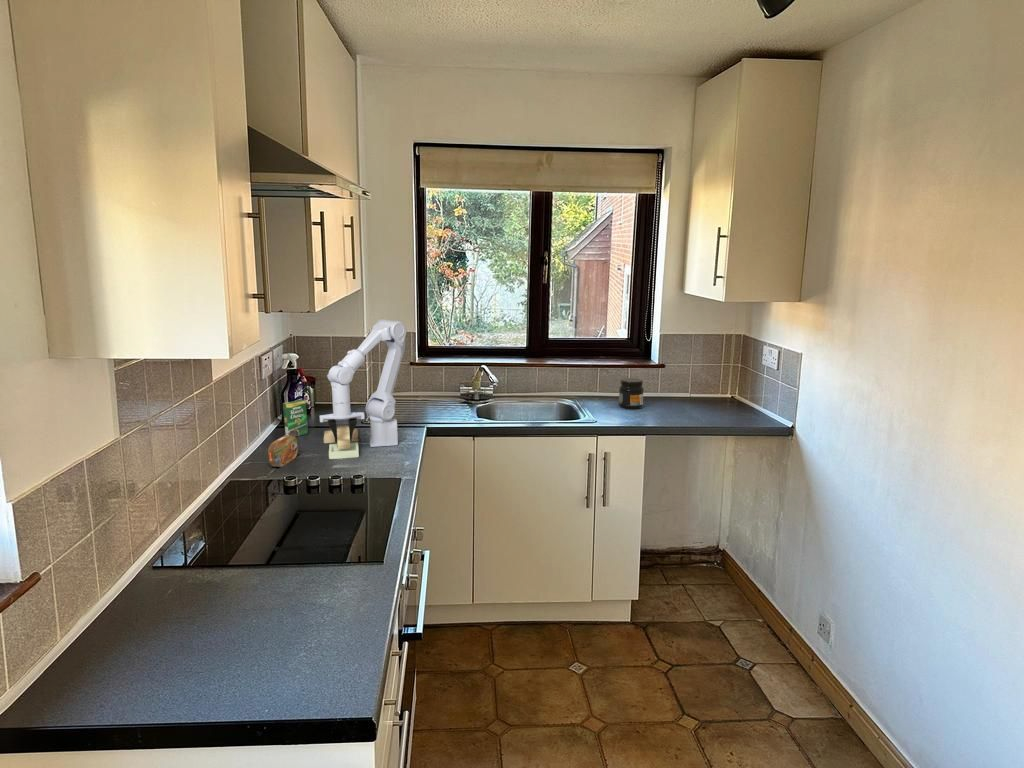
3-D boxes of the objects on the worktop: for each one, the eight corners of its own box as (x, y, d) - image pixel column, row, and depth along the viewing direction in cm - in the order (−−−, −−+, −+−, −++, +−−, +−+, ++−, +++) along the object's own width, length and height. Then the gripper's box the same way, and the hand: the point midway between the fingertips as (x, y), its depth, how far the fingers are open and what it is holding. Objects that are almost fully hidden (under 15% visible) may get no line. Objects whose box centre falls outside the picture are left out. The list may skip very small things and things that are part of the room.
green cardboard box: (288, 438, 248) (285, 403, 246) (284, 437, 251) (282, 402, 248) (308, 434, 254) (306, 400, 251) (305, 432, 256) (302, 398, 253)
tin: (276, 470, 215) (274, 445, 213) (267, 469, 215) (265, 444, 214) (300, 456, 229) (298, 431, 227) (291, 455, 230) (289, 431, 228)
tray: (358, 448, 237) (358, 442, 237) (358, 457, 228) (358, 450, 227) (329, 450, 235) (329, 444, 234) (329, 459, 226) (328, 452, 225)
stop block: (349, 445, 233) (348, 425, 232) (350, 448, 230) (349, 428, 228) (337, 446, 232) (336, 426, 231) (338, 449, 228) (336, 429, 227)
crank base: (357, 432, 256) (357, 428, 256) (358, 441, 246) (358, 437, 246) (324, 434, 254) (324, 430, 253) (323, 443, 243) (323, 439, 243)
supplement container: (647, 409, 292) (648, 381, 290) (624, 410, 290) (625, 383, 287) (637, 403, 302) (638, 377, 300) (614, 404, 300) (615, 378, 298)
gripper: (362, 397, 233) (363, 435, 236) (318, 400, 229) (320, 439, 232) (364, 402, 227) (366, 441, 230) (319, 405, 223) (321, 445, 225)
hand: (343, 440), depth 230 cm, fingers closed on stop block, 4 cm apart
